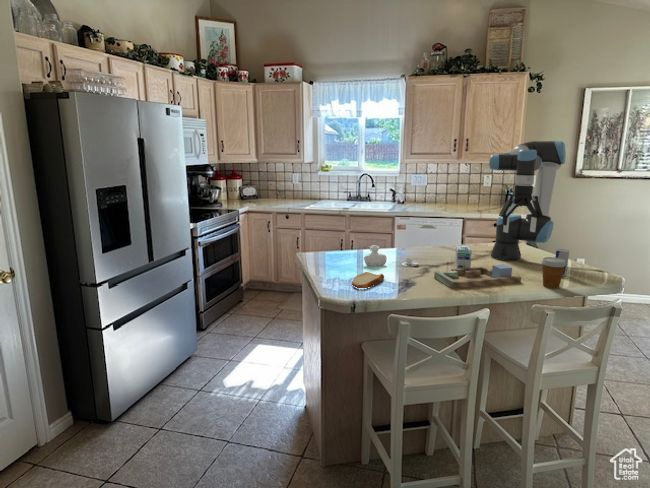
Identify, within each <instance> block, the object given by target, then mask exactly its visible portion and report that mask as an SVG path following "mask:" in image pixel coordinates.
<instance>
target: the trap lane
mask: <svg viewBox="0 0 650 488" xmlns="http://www.w3.org/2000/svg"><path fill="white" fill-rule="evenodd" d="M481 274H484V275H486V276H488V278H477V279H465V280H455V279H454V278H459V276H460V275H461V276H462V275H464V277H465V278H473V277H475V278H476V277H481ZM489 277H490V278H489ZM433 279H436V280H437V281H439V282H441V283H442V284H444V285H446V286H447V287H448V288H450V289H462V288H464V289H465V288H474V287H484V286H485V287H486V285H487V286H495V285H496V286H498V285H507V284H508V283H509V284H517V283H521V282H522V276H520V275H512V276H510V277H499V278H492V268H491V269H489V268H487V267H483V266H477V267H475V266H474V267H470V268H462V269H456V268H451V271H450V270H449V271H439V270H438V271H437V270H436V271H434V277H433Z"/></svg>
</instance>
